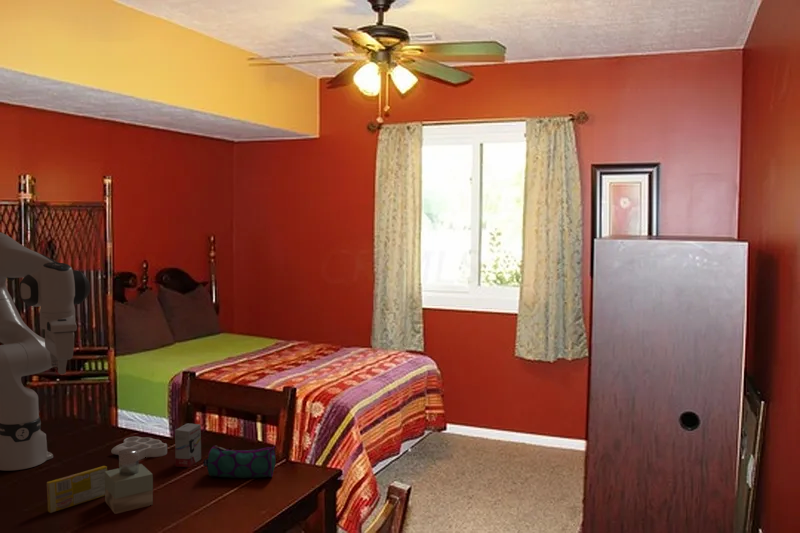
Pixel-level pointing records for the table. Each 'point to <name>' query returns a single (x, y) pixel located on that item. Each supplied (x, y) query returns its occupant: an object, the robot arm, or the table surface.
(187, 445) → the ink box
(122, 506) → the birch block
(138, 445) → the knuckle duster
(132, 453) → the metal cylinder
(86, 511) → the table surface
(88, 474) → the candy box
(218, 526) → the table surface
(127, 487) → the sage block
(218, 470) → the pencil case
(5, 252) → the robot arm
